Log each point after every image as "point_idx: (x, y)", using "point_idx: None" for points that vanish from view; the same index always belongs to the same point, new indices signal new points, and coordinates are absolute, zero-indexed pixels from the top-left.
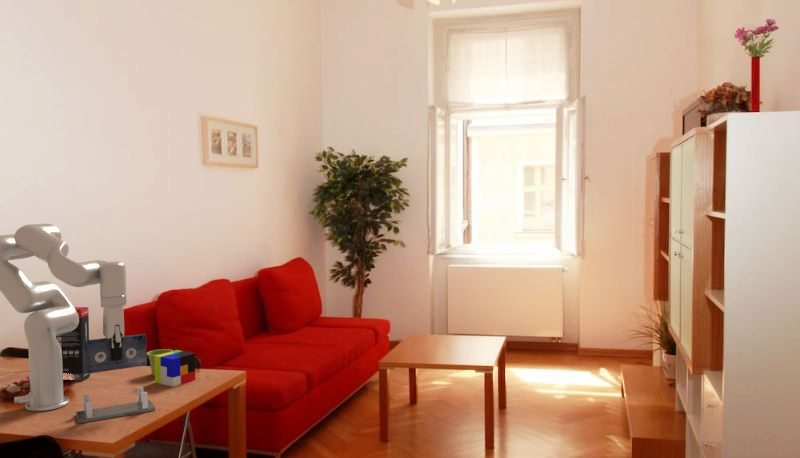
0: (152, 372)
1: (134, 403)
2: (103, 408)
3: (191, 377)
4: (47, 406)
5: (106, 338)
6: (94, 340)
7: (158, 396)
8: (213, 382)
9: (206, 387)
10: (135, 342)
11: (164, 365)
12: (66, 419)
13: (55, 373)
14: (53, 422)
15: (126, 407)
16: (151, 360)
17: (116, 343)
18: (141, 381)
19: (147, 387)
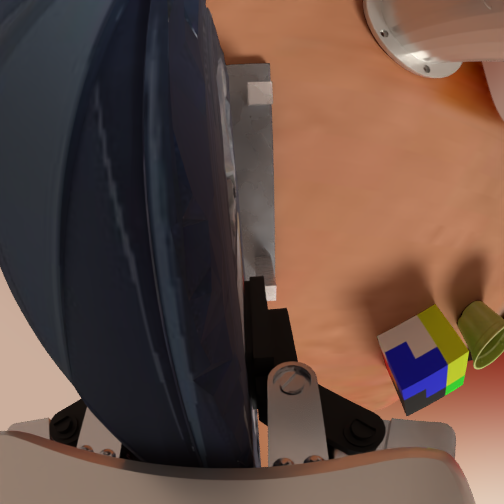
0: (478, 305)
1: (262, 246)
2: (259, 150)
3: (388, 370)
4: (375, 5)
5: (195, 450)
6: (29, 283)
7: (322, 305)
8: (343, 392)
9: (319, 384)
10: None
11: (424, 357)
12: (234, 37)
13: (456, 10)
14: (223, 5)
15: None
16: (491, 323)
17: (45, 422)
18: (462, 278)
19: (415, 287)
